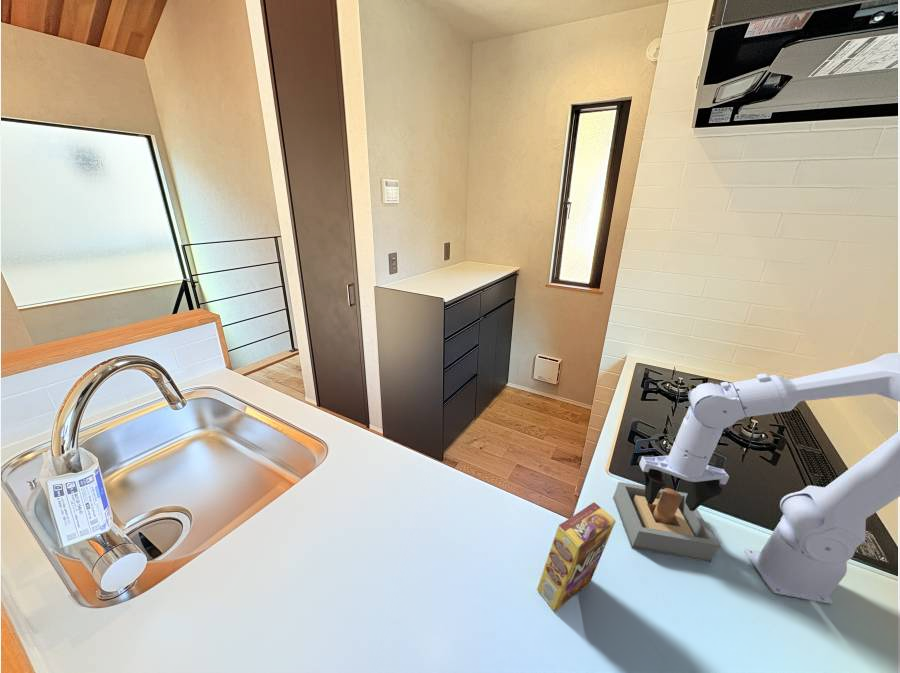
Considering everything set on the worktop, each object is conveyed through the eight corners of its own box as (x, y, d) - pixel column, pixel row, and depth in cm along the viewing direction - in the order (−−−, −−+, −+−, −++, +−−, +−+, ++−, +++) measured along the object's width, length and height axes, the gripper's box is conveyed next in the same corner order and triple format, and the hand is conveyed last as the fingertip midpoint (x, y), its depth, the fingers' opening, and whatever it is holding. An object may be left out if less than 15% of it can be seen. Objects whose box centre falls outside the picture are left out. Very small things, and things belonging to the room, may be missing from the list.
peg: (663, 519, 72) (677, 489, 69) (670, 533, 69) (685, 502, 66) (647, 516, 72) (660, 486, 69) (653, 530, 69) (667, 499, 66)
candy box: (556, 616, 54) (579, 547, 48) (535, 590, 57) (555, 523, 52) (592, 585, 59) (617, 519, 53) (571, 563, 62) (592, 499, 56)
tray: (680, 508, 76) (687, 493, 74) (710, 562, 65) (719, 545, 63) (613, 497, 77) (618, 481, 75) (631, 548, 66) (638, 531, 64)
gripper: (723, 439, 66) (697, 493, 71) (642, 427, 68) (623, 481, 73) (747, 465, 60) (717, 523, 65) (657, 451, 61) (635, 509, 66)
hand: (668, 503), depth 68 cm, fingers open, 7 cm apart
